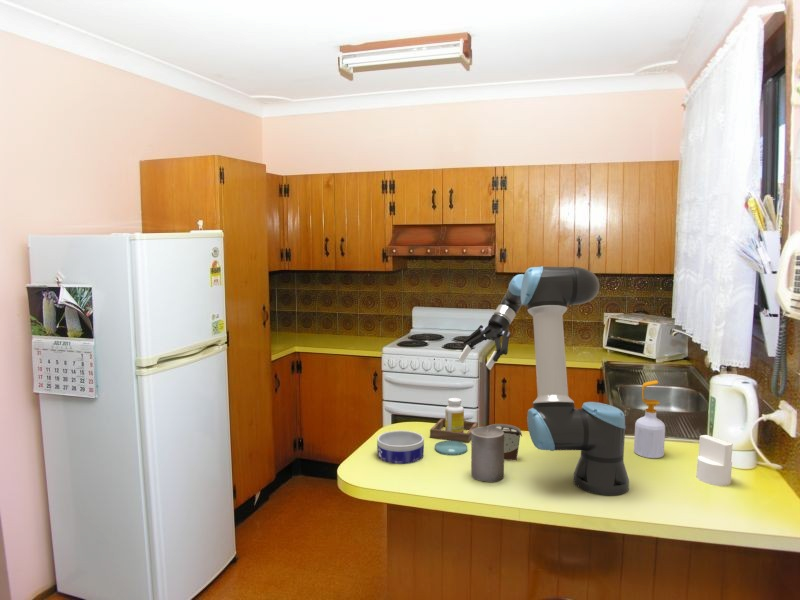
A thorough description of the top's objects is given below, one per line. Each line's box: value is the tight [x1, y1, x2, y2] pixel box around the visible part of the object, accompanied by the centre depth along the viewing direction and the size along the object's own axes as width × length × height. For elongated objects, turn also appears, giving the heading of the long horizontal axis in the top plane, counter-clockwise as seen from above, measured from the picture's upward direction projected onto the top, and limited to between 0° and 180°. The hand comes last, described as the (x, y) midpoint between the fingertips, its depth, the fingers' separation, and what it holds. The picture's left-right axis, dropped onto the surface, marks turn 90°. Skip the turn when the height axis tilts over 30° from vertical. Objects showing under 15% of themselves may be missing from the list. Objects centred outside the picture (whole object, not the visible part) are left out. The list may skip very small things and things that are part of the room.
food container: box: [487, 423, 523, 461], centre depth 188 cm, size 12×6×10 cm, turn 84°
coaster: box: [434, 440, 468, 456], centre depth 194 cm, size 11×11×1 cm
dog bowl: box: [376, 430, 425, 465], centre depth 189 cm, size 15×15×6 cm
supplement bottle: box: [444, 397, 465, 433], centre depth 208 cm, size 7×7×13 cm
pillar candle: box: [470, 425, 505, 483], centre depth 172 cm, size 10×10×15 cm
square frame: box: [429, 417, 479, 444], centre depth 209 cm, size 14×14×3 cm
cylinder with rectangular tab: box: [695, 434, 733, 487], centre depth 170 cm, size 9×9×12 cm
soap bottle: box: [633, 379, 666, 459], centre depth 189 cm, size 9×9×25 cm
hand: (473, 364), depth 212 cm, fingers open, 13 cm apart
